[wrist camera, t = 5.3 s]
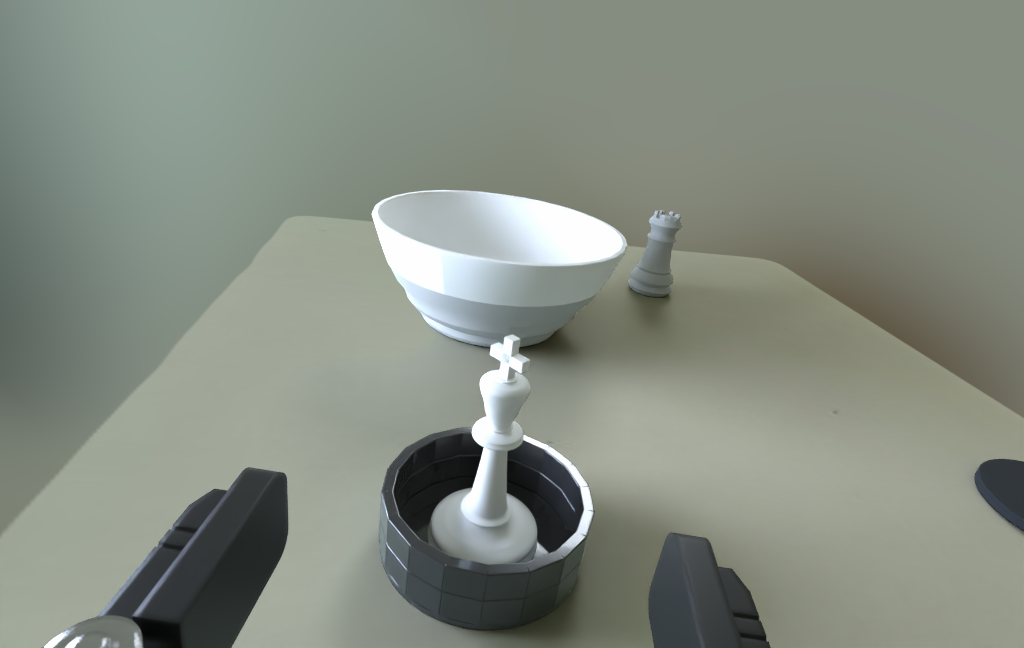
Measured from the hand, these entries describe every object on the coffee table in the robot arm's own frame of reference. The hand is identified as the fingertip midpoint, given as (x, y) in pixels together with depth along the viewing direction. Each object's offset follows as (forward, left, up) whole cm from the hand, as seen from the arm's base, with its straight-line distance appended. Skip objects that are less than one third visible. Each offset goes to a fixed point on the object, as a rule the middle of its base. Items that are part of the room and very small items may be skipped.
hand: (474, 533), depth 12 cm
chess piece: (+9, -6, -11) cm, 15 cm away
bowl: (+30, -18, -11) cm, 36 cm away
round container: (+9, -6, -11) cm, 15 cm away
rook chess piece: (+32, -38, -11) cm, 51 cm away
